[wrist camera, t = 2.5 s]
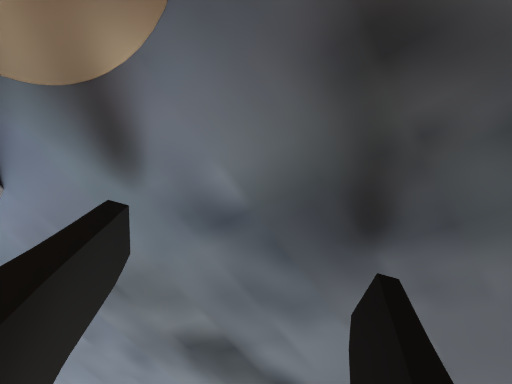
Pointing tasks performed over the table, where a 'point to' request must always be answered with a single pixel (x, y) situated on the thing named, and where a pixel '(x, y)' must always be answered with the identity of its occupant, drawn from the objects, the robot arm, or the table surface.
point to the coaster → (71, 37)
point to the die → (1, 191)
